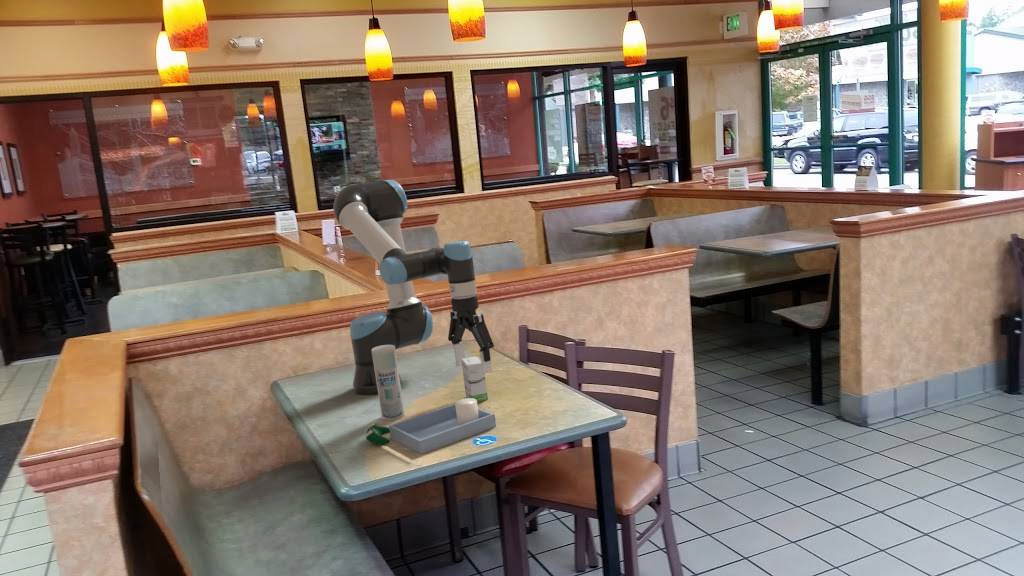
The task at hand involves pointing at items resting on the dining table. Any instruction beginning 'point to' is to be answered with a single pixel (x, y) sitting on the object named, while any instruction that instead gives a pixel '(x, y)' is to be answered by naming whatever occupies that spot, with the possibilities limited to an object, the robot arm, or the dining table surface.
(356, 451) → the dining table surface
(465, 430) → the tote
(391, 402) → the spray can
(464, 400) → the white smooth rounded part
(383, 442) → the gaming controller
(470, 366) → the ink box
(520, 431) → the dining table surface
